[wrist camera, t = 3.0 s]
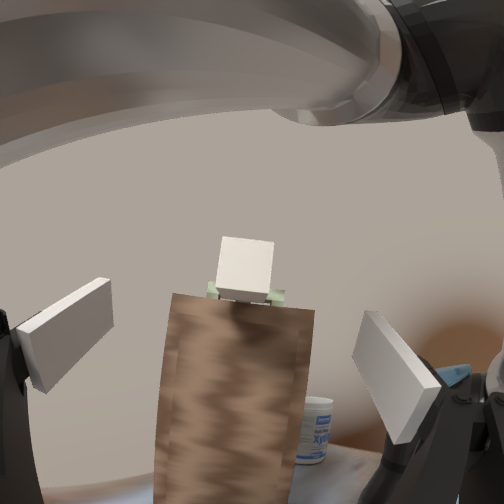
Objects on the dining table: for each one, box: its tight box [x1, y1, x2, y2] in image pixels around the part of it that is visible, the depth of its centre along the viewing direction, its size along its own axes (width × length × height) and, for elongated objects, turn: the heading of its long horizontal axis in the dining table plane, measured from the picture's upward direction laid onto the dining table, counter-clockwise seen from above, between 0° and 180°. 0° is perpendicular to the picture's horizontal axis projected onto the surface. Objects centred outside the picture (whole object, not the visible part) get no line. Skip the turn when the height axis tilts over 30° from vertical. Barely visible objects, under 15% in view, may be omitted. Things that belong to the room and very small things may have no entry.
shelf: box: [153, 281, 315, 504], centre depth 32 cm, size 15×14×33 cm
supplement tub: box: [295, 396, 334, 464], centre depth 52 cm, size 10×10×15 cm
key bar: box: [215, 236, 274, 303], centre depth 30 cm, size 4×18×4 cm, turn 1°
